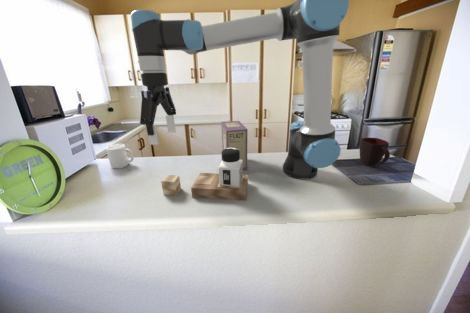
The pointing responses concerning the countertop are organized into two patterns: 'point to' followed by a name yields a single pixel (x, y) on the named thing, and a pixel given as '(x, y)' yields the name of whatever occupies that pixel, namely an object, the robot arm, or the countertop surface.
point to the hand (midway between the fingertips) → (163, 138)
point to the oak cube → (171, 185)
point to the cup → (118, 155)
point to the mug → (373, 151)
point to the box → (235, 138)
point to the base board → (218, 188)
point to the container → (230, 168)
